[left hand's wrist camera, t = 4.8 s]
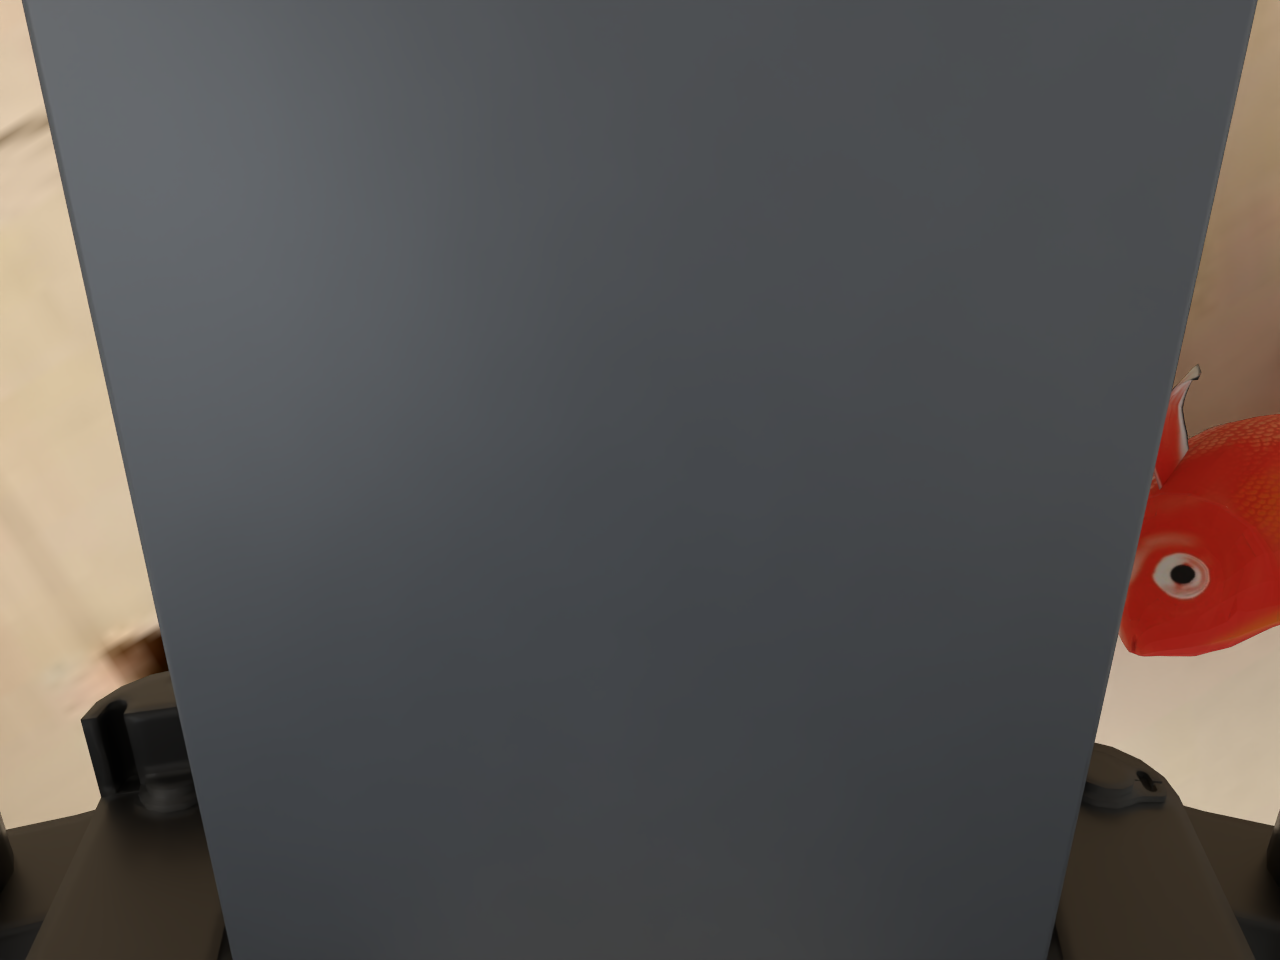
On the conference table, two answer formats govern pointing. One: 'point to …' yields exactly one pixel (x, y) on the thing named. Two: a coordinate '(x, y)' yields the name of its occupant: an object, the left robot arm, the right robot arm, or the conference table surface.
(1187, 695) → the conference table surface
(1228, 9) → the bar
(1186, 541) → the fish
